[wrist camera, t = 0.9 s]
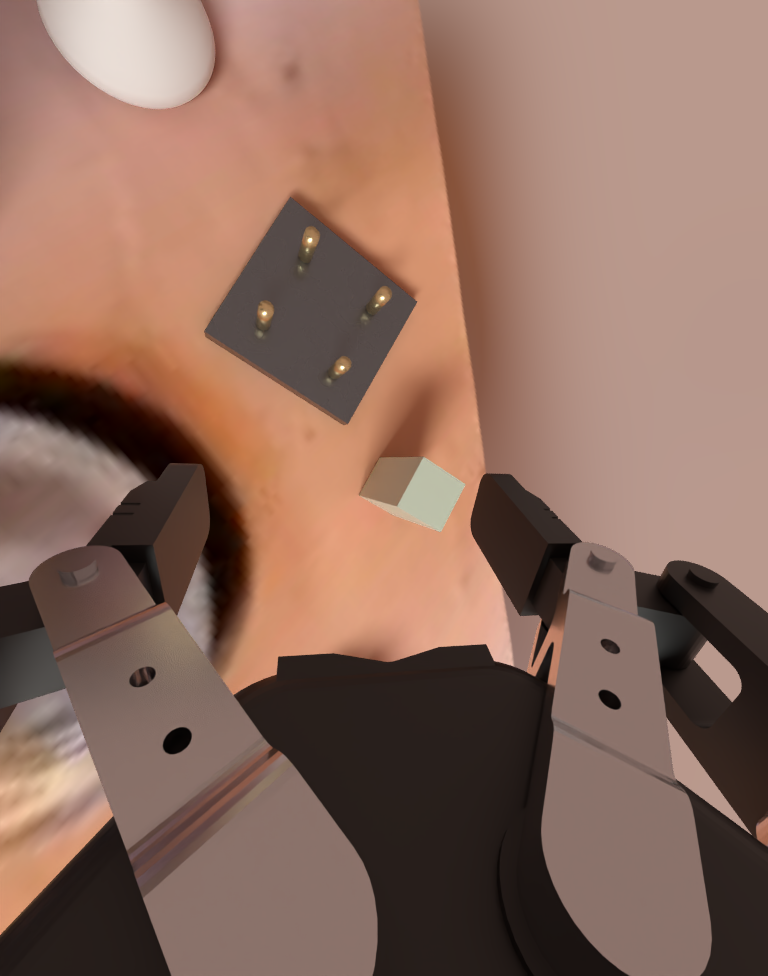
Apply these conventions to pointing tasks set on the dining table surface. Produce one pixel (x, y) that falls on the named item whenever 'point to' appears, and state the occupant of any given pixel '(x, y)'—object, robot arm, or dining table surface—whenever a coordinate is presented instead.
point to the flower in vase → (135, 47)
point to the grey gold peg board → (312, 314)
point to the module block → (413, 490)
